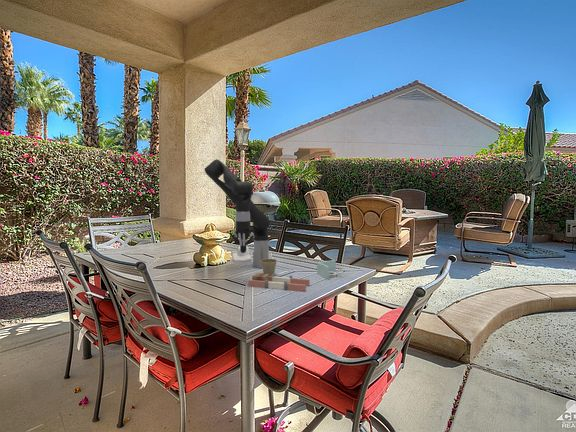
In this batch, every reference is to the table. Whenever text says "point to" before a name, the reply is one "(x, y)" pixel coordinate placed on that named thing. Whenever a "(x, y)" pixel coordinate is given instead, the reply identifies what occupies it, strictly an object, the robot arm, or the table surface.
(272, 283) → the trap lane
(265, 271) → the flower pot
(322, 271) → the right angle wall
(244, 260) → the citrus juicer
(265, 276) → the walnut block
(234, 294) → the table surface
